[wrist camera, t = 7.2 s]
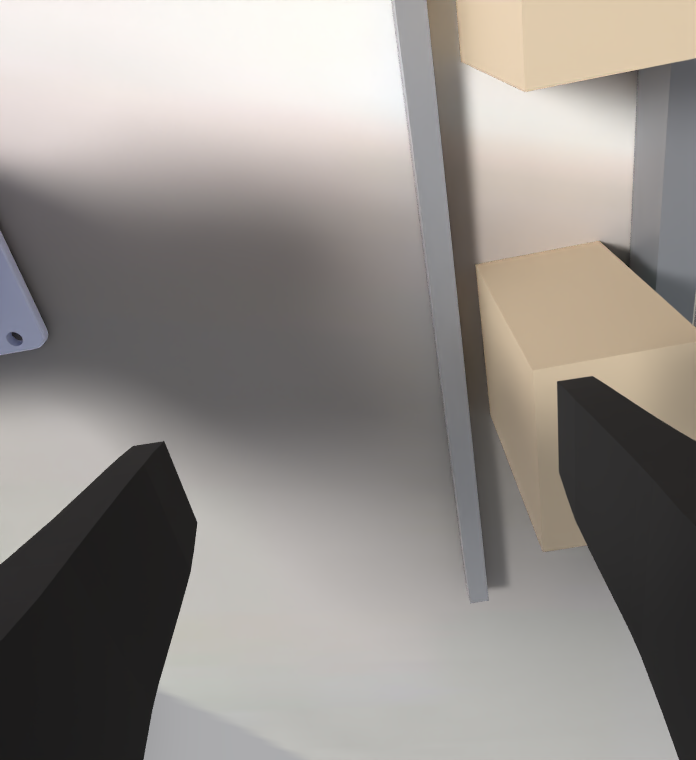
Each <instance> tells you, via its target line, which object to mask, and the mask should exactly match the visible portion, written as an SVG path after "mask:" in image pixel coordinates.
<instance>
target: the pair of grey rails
mask: <svg viewBox="0 0 696 760" xmlns="http://www.w3.org/2000/svg"><path fill="white" fill-rule="evenodd" d="M391 1H392V9H393V17H394V25H395V33H396V40H397V48H398V56H399V64H400V72H401V79H402V87H403V95H404V103H405V111H406V119H407V126H408V134H409V142H410V150H411V158H412V165H413V173H414V181H415V189H416V197H417V205H418V212H419V220H420V228H421V236H422V244H423V251H424V259H425V267H426V275H427V283H428V290H429V298H430V306H431V314H432V322H433V330H434V337H435V345H436V353H437V361H438V369H439V376H440V384H441V392H442V400H443V408H444V415H445V423H446V431H447V439H448V447H449V455H450V462H451V470H452V478H453V486H454V494H455V501H456V509H457V517H458V525H459V533H460V541H461V548H462V556H463V564H464V572H465V580H466V586H467V591H468V595H469V600H470V603H475V602H482V601H489V598H488V588H487V578H486V569H485V559H484V549H483V540H482V530H481V521H480V511H479V501H478V492H477V482H476V472H475V463H474V453H473V443H472V434H471V424H470V415H469V405H468V395H467V386H466V376H465V366H464V357H463V347H462V337H461V328H460V318H459V309H458V299H457V289H456V280H455V270H454V260H453V251H452V241H451V231H450V222H449V212H448V202H447V193H446V183H445V174H444V164H443V154H442V145H441V135H440V125H439V116H438V106H437V96H436V87H435V77H434V68H433V58H432V48H431V39H430V29H429V19H428V10H427V0H391ZM629 268H630V269H631V270H632V271H633V272H634V273H635V274H637V275H638V276H639V277H640V278H641V279H642V280H643V281H644V282H646V283H647V284H648V285H649V286H650V287H651V288H652V289H653V290H654V291H656V292H657V293H658V294H659V295H660V296H661V297H662V298H663V299H664V300H666V301H667V302H668V303H669V304H670V305H671V306H672V307H673V308H674V309H676V310H677V311H678V312H679V313H680V314H681V315H682V316H683V317H684V318H686V319H687V320H688V321H689V322H690V323H691V324H692V325H693V326H694V317H695V307H696V58H694V59H689V60H684V61H679V62H674V63H669V64H664V65H659V66H654V67H649V68H644V69H639V70H638V84H637V106H636V129H635V152H634V174H633V197H632V220H631V242H630V265H629Z"/></svg>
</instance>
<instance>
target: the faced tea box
mask: <svg viewBox="0 0 696 760" xmlns="http://www.w3.org/2000/svg"><path fill="white" fill-rule="evenodd" d="M456 10H457V22H458V34H459V46H460V58H461V62H463V63H465V64H467V65H469V66H471V67H473V68H475V69H477V70H480V71H482V72H484V73H486V74H488V75H490V76H492V77H494V78H496V79H498V80H501V81H503V82H505V83H507V84H509V85H511V86H513V87H515V88H517V89H520V90H522V91H524V92H528V91H533V90H538V89H543V88H548V87H553V86H558V85H563V84H568V83H573V82H578V81H583V80H588V79H593V78H598V77H603V76H609V75H614V74H619V73H624V72H629V71H634V70H639V69H644V68H649V67H654V66H659V65H664V64H669V63H674V62H679V61H684V60H689V59H694V58H696V0H456Z"/></svg>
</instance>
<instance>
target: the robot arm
mask: <svg viewBox="0 0 696 760" xmlns="http://www.w3.org/2000/svg"><path fill="white" fill-rule="evenodd" d="M11 332H16V333H18V334H19V335H20V336H21V337H22V339H23V341H19V340H17V339H15V338H14V337H13V336H12V333H11ZM47 339H48V331H47V328H46V326H45V324H44V322H43V320H42V318H41V315H40V313H39V311H38V309H37V307H36V305H35V303H34V301H33V298H32V296H31V294H30V292H29V290H28V288H27V286H26V284H25V282H24V279H23V277H22V275H21V273H20V271H19V269H18V267H17V265H16V262H15V260H14V258H13V256H12V254H11V252H10V250H9V248H8V246H7V243H6V241H5V239H4V237H3V235H2V233H1V231H0V355H5V354H10V353H16V352H21V351H27V350H33V349H37V348H39V347H41V346H42V345H43V344H44V343H45V341H46V340H47ZM557 408H558V457H559V474H560V477H561V480H562V483H563V486H564V489H565V492H566V496H567V499H568V501H569V504H570V507H571V510H572V513H573V516H574V518H575V521H576V523H577V525H578V527H579V529H580V531H581V534H582V536H583V538H584V540H585V542H586V544H587V546H588V548H589V550H590V552H591V554H592V556H593V558H594V560H595V562H596V564H597V566H598V568H599V570H600V572H601V574H602V576H603V578H604V580H605V582H606V584H607V586H608V588H609V590H610V592H611V594H612V596H613V598H614V600H615V602H616V604H617V606H618V608H619V610H620V612H621V614H622V616H623V618H624V620H625V622H626V624H627V626H628V628H629V630H630V632H631V635H632V637H633V639H634V641H635V644H636V646H637V648H638V650H639V653H640V655H641V657H642V660H643V663H644V665H645V668H646V671H647V673H648V676H649V679H650V681H651V684H652V687H653V689H654V692H655V695H656V697H657V700H658V702H659V705H660V708H661V710H662V713H663V716H664V719H665V721H666V724H667V727H668V730H669V733H670V735H671V738H672V741H673V744H674V746H675V749H676V752H677V755H678V758H679V760H696V441H695V440H693V439H691V438H690V437H688V436H686V435H685V434H683V433H681V432H680V431H678V430H676V429H675V428H673V427H671V426H670V425H668V424H666V423H665V422H663V421H662V420H660V419H658V418H657V417H655V416H654V415H652V414H650V413H649V412H647V411H646V410H644V409H643V408H641V407H640V406H638V405H637V404H635V403H633V402H632V401H630V400H629V399H627V398H626V397H624V396H623V395H621V394H620V393H618V392H617V391H615V390H614V389H612V388H611V387H609V386H608V385H606V384H605V383H603V382H602V381H600V380H598V379H597V378H595V377H593V376H589V377H582V378H576V379H569V380H563V381H557ZM196 529H197V521H196V518H195V516H194V513H193V511H192V509H191V506H190V504H189V501H188V499H187V496H186V494H185V491H184V489H183V486H182V484H181V481H180V479H179V477H178V474H177V472H176V469H175V467H174V464H173V462H172V459H171V457H170V454H169V452H168V449H167V447H166V444H165V442H164V441H163V442H156V443H150V444H143V445H137V446H133V447H131V448H130V449H129V450H128V451H126V452H125V453H124V454H123V455H121V456H120V457H119V458H118V459H117V460H116V461H115V462H114V463H112V464H111V465H110V466H109V467H108V468H107V469H106V470H105V471H104V472H103V473H102V474H101V475H100V476H99V477H97V478H96V479H95V480H94V481H93V482H92V483H91V484H90V485H89V486H88V487H87V488H86V489H85V490H84V491H83V492H81V493H80V494H79V495H78V496H77V497H76V498H75V499H74V500H73V501H72V502H71V503H70V504H69V505H68V506H67V507H65V508H64V509H63V510H62V511H61V512H60V513H59V514H58V515H57V516H56V517H55V518H54V519H52V520H51V521H50V522H49V523H48V524H47V525H46V526H44V527H43V528H42V529H41V530H40V531H39V532H38V533H36V534H35V535H34V536H33V537H32V538H31V539H30V540H28V541H27V542H26V543H25V544H24V545H23V546H21V547H20V548H19V549H18V550H17V551H16V552H15V553H13V554H12V555H11V556H10V557H9V558H8V559H6V560H5V561H4V562H3V563H1V564H0V760H143V759H144V753H145V748H146V742H147V736H148V731H149V725H150V719H151V714H152V709H153V705H154V701H155V696H156V693H157V688H158V684H159V681H160V677H161V674H162V670H163V667H164V663H165V660H166V657H167V653H168V650H169V646H170V643H171V639H172V636H173V632H174V629H175V626H176V622H177V619H178V615H179V612H180V608H181V605H182V601H183V597H184V594H185V590H186V587H187V583H188V579H189V576H190V572H191V566H192V559H193V553H194V545H195V537H196Z"/></svg>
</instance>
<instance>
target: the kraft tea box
mask: <svg viewBox="0 0 696 760" xmlns="http://www.w3.org/2000/svg"><path fill="white" fill-rule="evenodd" d="M475 267H476V277H477V287H478V297H479V308H480V318H481V328H482V338H483V348H484V358H485V368H486V378H487V388H488V398H489V408H490V415H491V418H492V420H493V423H494V426H495V428H496V431H497V433H498V436H499V439H500V441H501V444H502V447H503V449H504V452H505V454H506V457H507V460H508V462H509V465H510V467H511V470H512V473H513V475H514V478H515V481H516V483H517V486H518V488H519V491H520V494H521V496H522V499H523V501H524V504H525V507H526V509H527V512H528V514H529V517H530V520H531V522H532V525H533V528H534V530H535V533H536V535H537V538H538V541H539V543H540V546H541V548H542V551H543V552H547V551H554V550H560V549H567V548H573V547H580V546H586V545H587V544H586V542H585V540H584V538H583V536H582V534H581V531H580V529H579V527H578V525H577V523H576V521H575V518H574V516H573V513H572V510H571V507H570V504H569V501H568V499H567V496H566V492H565V489H564V486H563V483H562V480H561V477H560V474H559V457H558V408H557V381H563V380H569V379H576V378H582V377H589V376H593V377H595V378H597V379H598V380H600V381H602V382H603V383H605V384H606V385H608V386H609V387H611V388H612V389H614V390H615V391H617V392H618V393H620V394H621V395H623V396H624V397H626V398H627V399H629V400H630V401H632V402H633V403H635V404H637V405H638V406H640V407H641V408H643V409H644V410H646V411H647V412H649V413H650V414H652V415H654V416H655V417H657V418H658V419H660V420H662V421H663V422H665V423H666V424H668V425H670V426H671V427H673V428H675V429H676V430H678V431H680V432H681V433H683V434H685V435H686V436H688V437H690V438H691V439H693V440H695V441H696V327H695V326H693V325H692V324H691V323H690V322H689V321H688V320H687V319H686V318H684V317H683V316H682V315H681V314H680V313H679V312H678V311H677V310H676V309H674V308H673V307H672V306H671V305H670V304H669V303H668V302H667V301H666V300H664V299H663V298H662V297H661V296H660V295H659V294H658V293H657V292H656V291H654V290H653V289H652V288H651V287H650V286H649V285H648V284H647V283H646V282H644V281H643V280H642V279H641V278H640V277H639V276H638V275H637V274H635V273H634V272H633V271H632V270H631V269H630V268H629V267H628V266H627V265H625V264H624V263H623V262H622V261H621V260H620V259H619V258H618V257H617V256H615V255H614V254H613V253H612V252H611V251H610V250H609V249H608V248H607V247H605V246H604V245H603V244H602V243H601V242H600V241H596V242H590V243H585V244H580V245H575V246H569V247H564V248H559V249H554V250H548V251H543V252H538V253H533V254H528V255H522V256H517V257H512V258H507V259H501V260H496V261H491V262H486V263H480V264H475Z"/></svg>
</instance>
